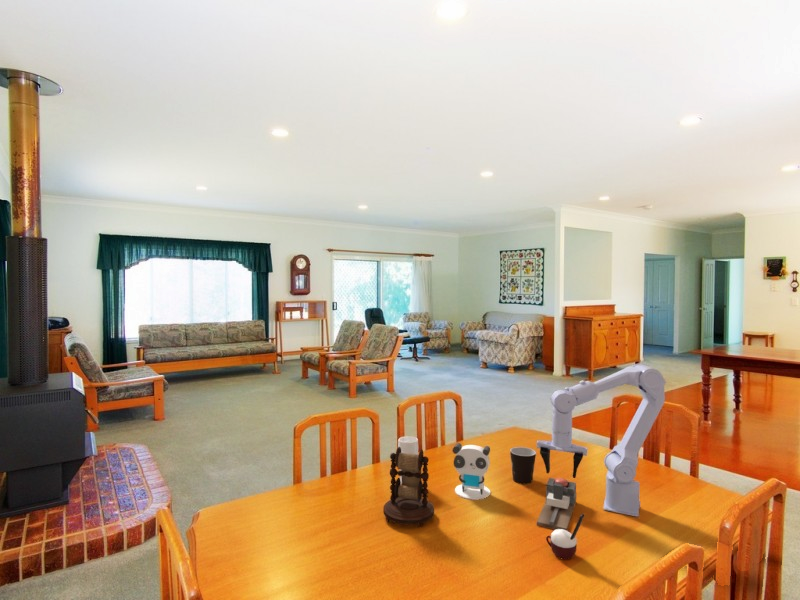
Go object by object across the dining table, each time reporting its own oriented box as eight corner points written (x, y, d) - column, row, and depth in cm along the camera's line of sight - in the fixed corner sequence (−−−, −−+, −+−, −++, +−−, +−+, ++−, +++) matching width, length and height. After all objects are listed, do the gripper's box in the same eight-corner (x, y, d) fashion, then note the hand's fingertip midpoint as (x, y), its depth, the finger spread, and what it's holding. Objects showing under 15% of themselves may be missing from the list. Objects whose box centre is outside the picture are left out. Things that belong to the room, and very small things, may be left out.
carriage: (569, 503, 143) (569, 483, 143) (567, 509, 139) (568, 488, 139) (548, 499, 146) (549, 479, 145) (546, 504, 142) (546, 484, 142)
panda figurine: (449, 496, 152) (449, 449, 151) (456, 481, 163) (457, 438, 162) (487, 502, 148) (488, 454, 148) (492, 487, 159) (493, 442, 158)
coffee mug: (529, 487, 158) (530, 458, 158) (505, 481, 164) (505, 452, 163) (542, 476, 168) (543, 448, 167) (519, 470, 173) (519, 443, 172)
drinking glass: (418, 487, 158) (418, 443, 157) (397, 487, 158) (397, 442, 157) (417, 479, 165) (418, 436, 164) (398, 478, 165) (398, 435, 164)
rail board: (576, 502, 148) (577, 483, 148) (567, 532, 131) (568, 510, 130) (549, 496, 152) (549, 477, 152) (536, 525, 134) (537, 504, 134)
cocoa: (542, 550, 123) (540, 504, 122) (562, 544, 125) (560, 499, 125) (568, 569, 114) (566, 519, 114) (589, 563, 116) (587, 514, 116)
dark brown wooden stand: (438, 508, 144) (439, 442, 143) (428, 533, 130) (428, 460, 129) (391, 501, 148) (392, 437, 147) (376, 525, 134) (376, 454, 133)
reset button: (568, 485, 149) (568, 479, 148) (566, 490, 145) (566, 483, 145) (556, 483, 150) (556, 477, 150) (554, 487, 147) (554, 481, 147)
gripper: (535, 430, 145) (534, 474, 146) (586, 438, 139) (585, 483, 140) (539, 424, 152) (538, 466, 152) (588, 431, 145) (587, 475, 146)
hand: (561, 474), depth 146 cm, fingers open, 7 cm apart
